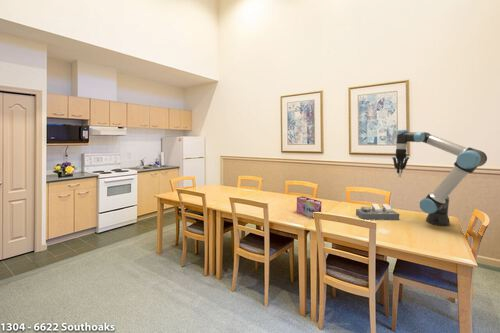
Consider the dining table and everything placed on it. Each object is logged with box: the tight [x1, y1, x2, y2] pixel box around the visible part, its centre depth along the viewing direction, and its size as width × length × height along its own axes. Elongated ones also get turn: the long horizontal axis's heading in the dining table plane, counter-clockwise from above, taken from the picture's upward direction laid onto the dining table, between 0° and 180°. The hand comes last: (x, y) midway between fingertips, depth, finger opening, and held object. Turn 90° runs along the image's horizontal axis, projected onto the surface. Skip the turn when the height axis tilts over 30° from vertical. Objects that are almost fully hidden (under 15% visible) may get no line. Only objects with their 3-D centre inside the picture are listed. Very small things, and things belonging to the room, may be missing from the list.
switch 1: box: [371, 203, 382, 212], centre depth 220 cm, size 5×9×2 cm, turn 179°
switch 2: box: [381, 203, 394, 212], centre depth 220 cm, size 5×9×2 cm, turn 179°
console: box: [355, 206, 400, 221], centre depth 219 cm, size 30×14×8 cm, turn 89°
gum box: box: [296, 196, 322, 219], centre depth 226 cm, size 24×8×14 cm, turn 34°
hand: (399, 177), depth 216 cm, fingers closed
